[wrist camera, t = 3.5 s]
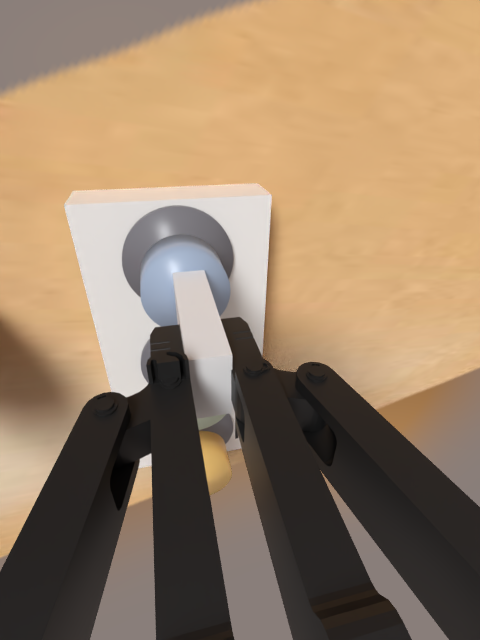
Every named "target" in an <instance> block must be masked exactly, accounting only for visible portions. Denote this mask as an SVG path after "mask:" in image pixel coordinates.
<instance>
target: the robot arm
mask: <svg viewBox="0 0 480 640" xmlns="http://www.w3.org/2000/svg"><path fill="white" fill-rule="evenodd" d="M172 275H173V284H174V294H175V304H176V314H177V323H178V325H170V326H162V327H155V328H154V330H153V331H152V333H151V334H150V351H151V352H150V356H151V357H150V358H149V359H148V360H147V364H146V367H147V373H148V379H149V384H148V385H147V386H146V387H145V388H144V389H143V390H141V391H140V392H138V393H136V394H134V395H131V396H129V397H125V396H124V395H122V394H120V393H116V392H107V393H102V394H100V395H97V396H95V397H93V398H92V399H91V400H89V401H88V402H87V403H86V405H85V406H84V407H83V409H82V411H81V413H80V415H79V417H78V419H77V421H76V423H75V425H74V427H73V429H72V431H71V433H70V435H69V437H68V439H67V441H66V443H65V445H64V447H63V449H62V451H61V453H60V455H59V457H58V459H57V461H56V463H55V465H54V467H53V469H52V471H51V473H50V475H49V476H48V478H47V480H46V482H45V484H44V486H43V488H42V490H41V492H40V494H39V496H38V498H37V500H36V502H35V504H34V506H33V508H32V510H31V512H30V514H29V516H28V518H27V520H26V522H25V524H24V526H23V528H22V530H21V532H20V534H19V536H18V538H17V540H16V542H15V544H14V546H13V548H12V549H11V551H10V553H9V555H8V557H7V559H6V562H5V563H4V565H3V567H2V569H1V571H0V640H90V637H91V633H92V630H93V626H94V623H95V619H96V616H97V612H98V608H99V605H100V601H101V598H102V594H103V591H104V587H105V584H106V580H107V576H108V573H109V570H110V566H111V562H112V559H113V555H114V552H115V548H116V545H117V541H118V538H119V534H120V531H121V527H122V523H123V520H124V516H125V513H126V509H127V506H128V502H129V499H130V495H131V492H132V488H133V485H134V481H135V477H136V474H137V470H138V467H139V463H140V459H141V458H143V457H145V456H147V455H149V454H151V461H152V499H153V535H154V573H155V610H156V611H155V612H156V640H234V637H233V632H232V627H231V621H230V615H229V609H228V603H227V597H226V591H225V585H224V579H223V574H222V567H221V561H220V555H219V549H218V544H217V537H216V531H215V526H214V519H213V513H212V507H211V501H210V495H209V489H208V483H207V477H206V471H205V465H204V459H203V453H202V447H201V441H200V435H199V429H198V423H197V419H199V418H205V417H211V416H217V415H223V414H229V413H232V404H233V408H234V411H235V439H237V438H238V437H239V440H240V444H241V448H242V452H243V455H244V459H245V463H246V467H247V470H248V474H249V477H250V481H251V485H252V489H253V492H254V496H255V500H256V504H257V507H258V511H259V515H260V519H261V522H262V526H263V530H264V533H265V537H266V541H267V544H268V548H269V552H270V556H271V559H272V563H273V567H274V570H275V574H276V578H277V581H278V585H279V589H280V593H281V596H282V600H283V604H284V608H285V611H286V615H287V619H288V623H289V626H290V630H291V634H292V637H293V640H412V639H411V637H410V635H409V633H408V631H407V629H406V627H405V625H404V623H403V621H402V619H401V618H400V616H399V614H398V612H397V610H396V609H395V607H394V606H393V605H392V604H391V602H390V601H389V600H388V599H386V598H385V597H383V596H381V595H380V594H379V593H378V592H377V591H376V589H375V588H374V586H373V584H372V582H371V580H370V578H369V576H368V574H367V572H366V569H365V567H364V565H363V563H362V560H361V558H360V556H359V554H358V552H357V549H356V547H355V545H354V543H353V541H352V539H351V537H350V534H349V532H348V530H347V528H346V526H345V523H344V521H343V519H342V517H341V515H340V512H339V510H338V508H337V506H336V504H335V502H334V499H333V497H332V495H331V493H330V491H329V489H328V486H327V484H326V482H325V480H324V477H323V475H322V473H323V474H324V475H325V477H326V478H327V479H328V481H329V482H330V483H331V485H332V486H333V487H334V489H335V490H336V491H337V493H338V494H339V495H340V497H341V498H342V499H343V501H344V502H345V503H346V504H347V506H348V507H349V508H350V510H351V511H352V512H353V514H354V515H355V516H356V518H357V519H358V520H359V522H360V523H361V524H362V525H363V527H364V528H365V529H366V531H367V532H368V533H369V535H370V536H371V537H372V539H373V540H374V541H375V543H376V544H377V545H378V547H379V548H380V549H381V551H382V552H383V553H384V554H385V556H386V557H387V558H388V559H389V561H390V562H391V564H392V565H393V566H394V568H395V569H396V570H397V572H398V573H399V574H400V575H401V577H402V578H403V579H404V581H405V582H406V583H407V585H408V586H409V587H410V589H411V590H412V591H413V593H414V594H415V595H416V597H417V598H418V599H419V601H420V602H421V603H422V604H423V606H424V607H425V609H426V610H427V611H428V612H429V614H430V615H431V616H432V618H433V619H434V620H435V622H436V623H437V624H438V626H439V627H440V628H441V630H442V631H443V632H444V634H445V635H446V636H447V637H448V638H449V640H480V507H479V506H478V505H477V504H476V503H475V502H473V500H471V499H470V498H469V497H468V496H467V495H466V494H465V493H464V492H463V491H462V490H461V489H460V488H459V487H457V486H456V485H455V484H454V483H453V482H452V481H451V480H450V479H449V478H448V477H447V476H446V475H445V474H444V473H442V471H440V470H439V469H438V468H437V467H436V466H435V465H434V464H433V463H432V462H431V461H430V460H429V459H428V458H426V457H425V456H424V455H423V454H422V453H421V452H420V451H419V450H418V449H417V448H416V447H415V446H414V445H413V444H412V443H410V442H409V441H408V440H407V439H406V438H405V437H404V436H403V435H402V434H401V433H400V432H399V431H398V430H397V429H396V428H394V427H393V426H392V425H391V424H390V423H389V422H388V421H387V420H386V419H385V418H384V417H383V416H382V415H380V414H379V413H378V412H377V411H376V410H375V409H374V408H373V407H372V406H371V405H370V404H369V403H368V402H367V401H366V400H364V399H363V398H362V397H361V396H360V395H359V394H358V393H357V392H356V391H355V390H354V389H353V388H352V387H351V386H350V385H348V384H347V383H346V382H345V381H344V380H343V379H342V378H341V377H340V376H339V375H338V374H337V373H336V372H335V371H333V370H332V369H331V368H330V367H328V366H327V365H324V364H322V363H318V362H308V363H304V364H302V365H301V366H299V368H298V369H297V372H288V371H281V370H277V369H274V368H273V366H272V365H271V364H270V363H269V362H268V361H266V360H265V359H263V357H262V355H261V353H260V350H259V348H258V346H257V344H256V341H255V339H254V338H253V334H252V332H251V330H250V328H249V325H248V323H247V322H246V321H244V320H243V319H242V318H241V317H233V318H225V319H220V316H219V313H218V310H217V307H216V304H215V301H214V298H213V295H212V292H211V289H210V286H209V283H208V280H207V277H206V274H205V271H204V270H198V271H187V272H175V273H172ZM320 470H321V471H322V473H321V471H320Z"/></svg>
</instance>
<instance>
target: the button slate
mask: <svg viewBox="0 0 480 640" xmlns="http://www.w3.org/2000/svg"><path fill="white" fill-rule="evenodd" d="M198 270H204V271H205V274H206V277H207V280H208V283H209V286H210V289H211V292H212V295H213V298H214V301H215V304H216V307H217V310H218V313H219V316H221V315H222V313H223V312H224V311H225V309H226V307H227V305H228V302H229V299H230V291H231V290H230V282H229V279H228V277H227V274H226V272H225V270H224V268H223V265H222V263H221V261H220V259H219V257H218V255H217V253H216V251H215V250H214V249H213V248H212V247H211V246H210V245H209V244H208V243H207V242H206V241H204V240H202V239H200V238H198V237H195V236H192V235H185V234H178V235H172V236H168V237H165V238H163V239H161V240H159V241H157V242H156V243H155V244H153V245H152V246H151V247H150V248H149V250H148V251H147V252H146V254H145V256H144V258H143V260H142V263H141V270H140V295H141V302H142V306H143V308H144V310H145V312H146V314H147V315H148V316H149V317H150V319H152V320H153V321H154V322H155V323H156V324H158V325H159V326H161V327H162V326H170V325H178V323H177V314H176V304H175V294H174V284H173V275H172V273H175V272H187V271H198Z"/></svg>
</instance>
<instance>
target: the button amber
mask: <svg viewBox="0 0 480 640" xmlns="http://www.w3.org/2000/svg"><path fill="white" fill-rule="evenodd" d="M199 435H200V441H201V447H202V453H203V459H204V465H205V471H206V477H207V483H208V489H209V495H212V494H214V493H216V492H218V491H220V490H221V489H222V488H224V487H225V486H226V485H227V484H228V482H229V481H230V479H231V476H232V471H231V466H230V462H229V458H228V454H227V450H226V445H225V442H224V440H223V438H222V437H221V436H220V435H218V434H216V433H213V432H209V431H199Z"/></svg>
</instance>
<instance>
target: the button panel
mask: <svg viewBox="0 0 480 640" xmlns="http://www.w3.org/2000/svg"><path fill="white" fill-rule="evenodd" d="M271 199H272V195H271V194H270V193H269V192H268V191H266V190H265V189H264V188H263V187H262V186H260V185H259V184H258V183H250V184H226V185H202V186H178V187H154V188H130V189H106V190H82V191H73V192H72V193H71V195H70V196H69V198H68V200H67V201H66V203H65V204H64V207H65V211H66V215H67V219H68V223H69V227H70V231H71V235H72V238H73V242H74V246H75V250H76V254H77V258H78V262H79V266H80V270H81V274H82V278H83V282H84V286H85V289H86V293H87V297H88V301H89V305H90V309H91V313H92V317H93V321H94V325H95V329H96V333H97V337H98V341H99V344H100V348H101V352H102V356H103V360H104V364H105V368H106V372H107V376H108V380H109V384H110V388H111V392H116V393H120V394H122V395H124V396H125V397H129V396H131V395H134V394H136V393H138V392H140V391H141V390H143V389H144V388H145V387H146V386H147V385H148V384H149V379H148V373H147V367H146V364H147V360H148V359H149V358H150V357H151V356H150V352H151V351H150V334H151V333H152V331H153V330H154V328H155V327H161V326H159V325H158V324H156V323H155V322H154V321H153V320H152V319H150V317H149V316H148V315H147V314H146V312H145V310H144V308H143V306H142V302H141V295H140V270H141V263H142V260H143V258H144V256H145V254H146V252H147V251H148V250H149V248H150V247H151V246H152V245H153V244H155V243H156V242H157V241H159V240H161V239H163V238H165V237H168V236H172V235H178V234H185V235H192V236H195V237H198V238H200V239H202V240H204V241H206V242H207V243H208V244H209V245H210V246H211V247H212V248H213V249H214V250H215V251H216V253H217V255H218V257H219V259H220V261H221V263H222V265H223V268H224V270H225V272H226V274H227V277H228V279H229V282H230V290H231V291H230V299H229V302H228V305H227V307H226V309H225V311H224V312H223V313H222V315H221V316H220V319H225V318H233V317H241V318H242V319H243V320H244V321H246V322H247V323H248V325H249V328H250V330H251V332H252V334H253V338H254V339H255V341H256V344H257V346H258V348H259V350H260V353H261V355H263V337H264V320H265V303H266V285H267V268H268V251H269V233H270V216H271ZM199 431H209V432H213V433H216V434H218V435H220V436H221V437H222V438H223V440H224V442H225V445H226V450H227V451H231V450H237V449H242V448H241V444H240V440H239V437H238V438H237V439H235V411H234V408H233V404H232V413H229V414H226V415H225V416H224V417H223V418H222V419H221V420H220V421H219V422H217V423H216V424H214V425H212V426H210V427H208V428H205V429H201V430H199ZM148 466H152V461H151V454H149V455H147V456H145V457H143V458H141V459H140V463H139V467H138V468H143V467H148Z"/></svg>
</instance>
